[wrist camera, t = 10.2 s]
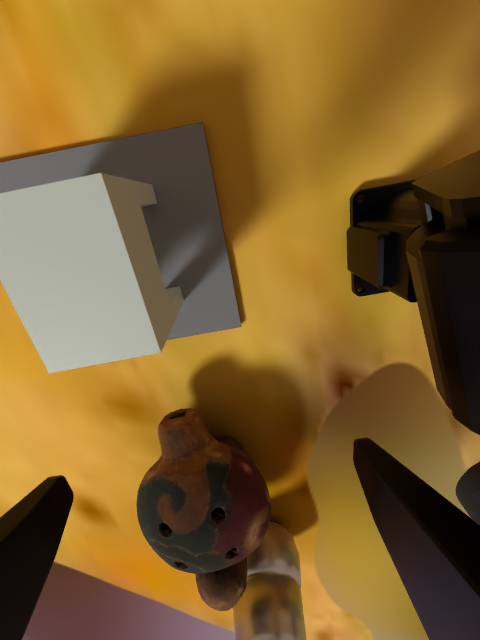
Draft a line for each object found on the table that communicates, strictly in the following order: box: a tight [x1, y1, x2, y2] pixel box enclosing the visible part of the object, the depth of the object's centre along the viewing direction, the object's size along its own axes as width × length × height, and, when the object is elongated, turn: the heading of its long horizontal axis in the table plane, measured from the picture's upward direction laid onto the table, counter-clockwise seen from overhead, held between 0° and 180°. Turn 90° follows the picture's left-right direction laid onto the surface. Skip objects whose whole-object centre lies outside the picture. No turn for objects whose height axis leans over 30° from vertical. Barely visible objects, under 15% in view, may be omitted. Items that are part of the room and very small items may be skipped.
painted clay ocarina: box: [137, 409, 271, 611], centre depth 21 cm, size 10×15×8 cm, turn 18°
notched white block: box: [0, 173, 184, 373], centre depth 14 cm, size 7×5×7 cm
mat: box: [0, 122, 241, 340], centre depth 18 cm, size 12×12×1 cm
